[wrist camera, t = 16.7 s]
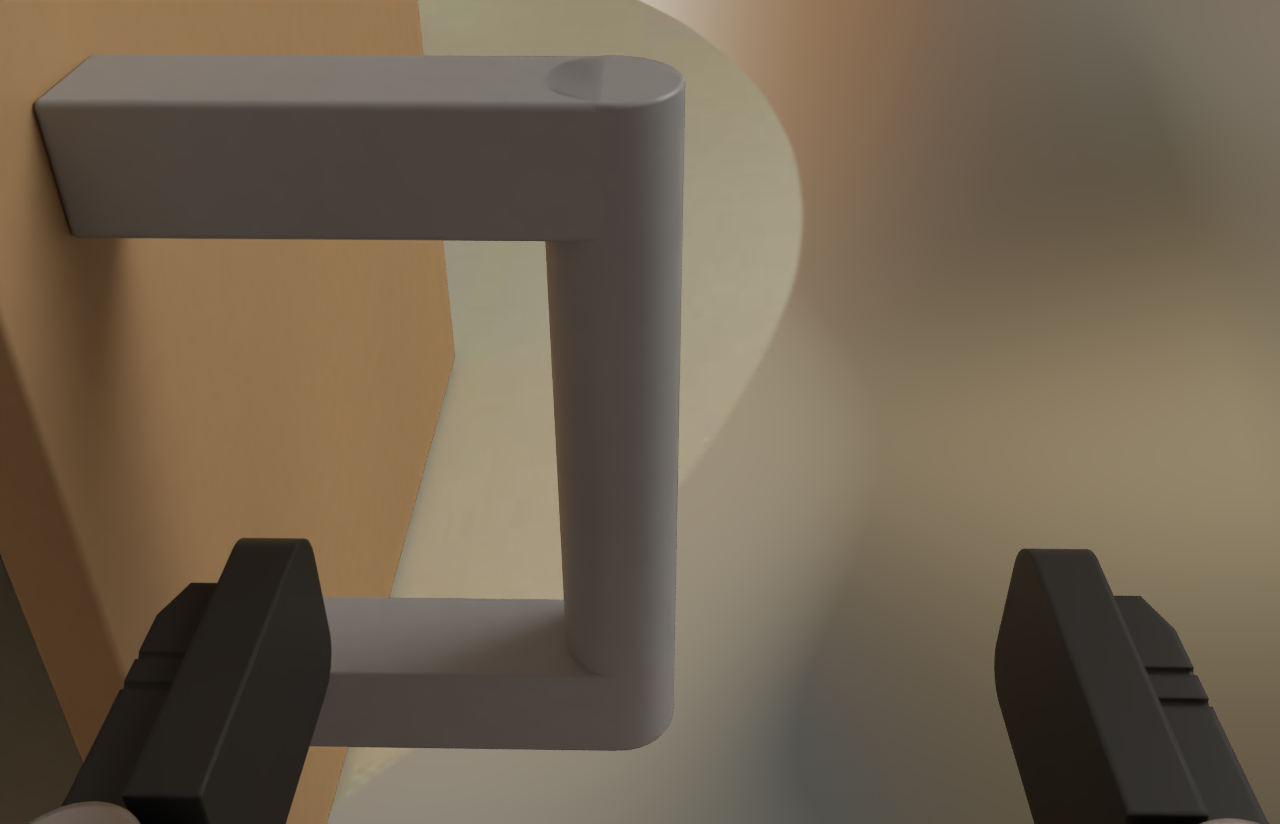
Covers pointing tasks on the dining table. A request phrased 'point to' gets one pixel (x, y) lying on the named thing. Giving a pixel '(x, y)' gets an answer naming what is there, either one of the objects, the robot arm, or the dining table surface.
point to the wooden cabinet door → (330, 350)
